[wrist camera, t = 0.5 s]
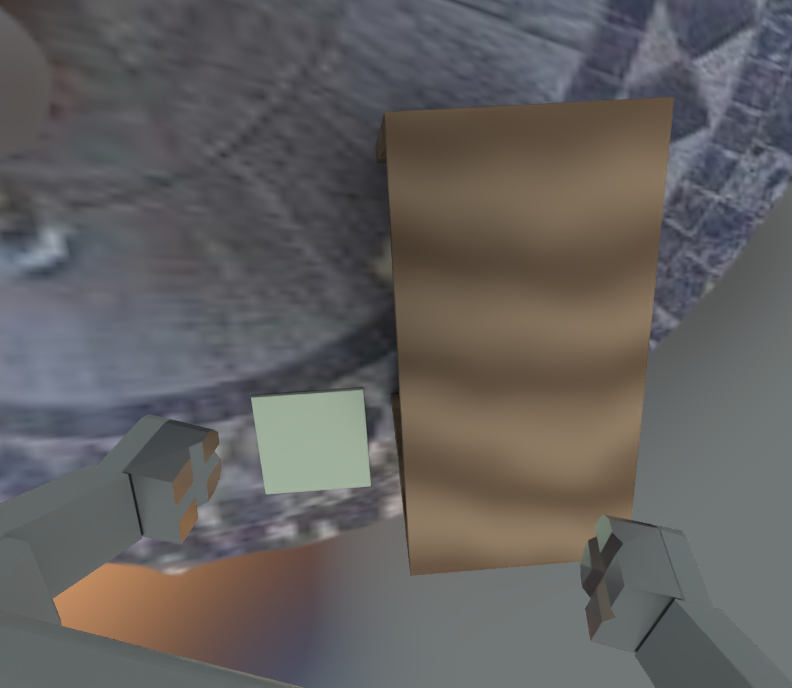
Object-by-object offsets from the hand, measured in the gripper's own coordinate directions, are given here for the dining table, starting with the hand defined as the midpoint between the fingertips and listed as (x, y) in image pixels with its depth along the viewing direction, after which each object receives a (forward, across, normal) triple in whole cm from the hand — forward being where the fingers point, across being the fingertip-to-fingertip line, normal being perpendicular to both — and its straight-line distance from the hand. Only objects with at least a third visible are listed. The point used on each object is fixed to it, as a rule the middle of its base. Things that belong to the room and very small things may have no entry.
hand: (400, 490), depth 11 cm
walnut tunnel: (+41, 0, +14) cm, 44 cm away
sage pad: (+34, +11, +32) cm, 48 cm away
